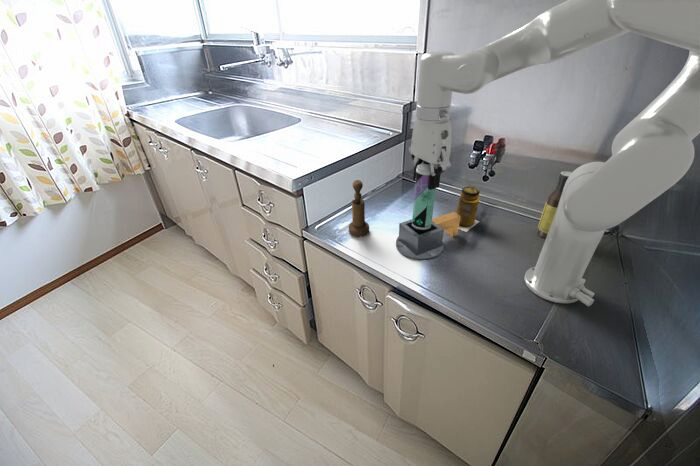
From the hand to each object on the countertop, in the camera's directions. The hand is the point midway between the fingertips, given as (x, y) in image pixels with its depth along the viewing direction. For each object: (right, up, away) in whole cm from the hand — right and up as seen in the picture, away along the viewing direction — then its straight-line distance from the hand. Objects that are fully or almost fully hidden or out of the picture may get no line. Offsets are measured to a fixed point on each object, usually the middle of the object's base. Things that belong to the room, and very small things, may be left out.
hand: (425, 183), depth 84 cm
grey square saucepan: (+4, -16, +13) cm, 21 cm away
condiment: (+17, -10, +21) cm, 29 cm away
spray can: (+1, -11, +7) cm, 13 cm away
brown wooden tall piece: (-17, -13, +19) cm, 29 cm away
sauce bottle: (+41, -14, +14) cm, 45 cm away
